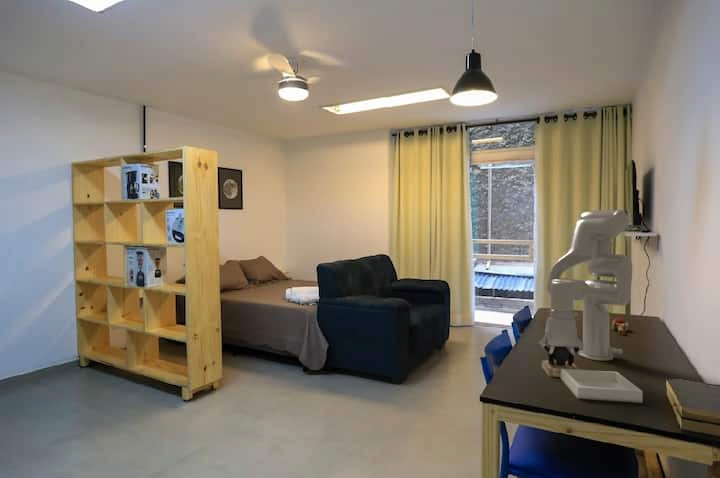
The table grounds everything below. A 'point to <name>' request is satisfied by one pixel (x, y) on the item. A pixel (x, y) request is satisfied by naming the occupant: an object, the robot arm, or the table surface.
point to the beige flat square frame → (555, 368)
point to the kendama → (620, 325)
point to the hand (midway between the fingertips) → (560, 364)
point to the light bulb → (561, 356)
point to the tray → (600, 385)
